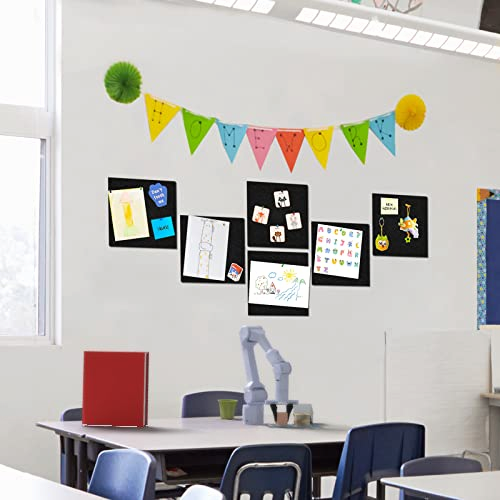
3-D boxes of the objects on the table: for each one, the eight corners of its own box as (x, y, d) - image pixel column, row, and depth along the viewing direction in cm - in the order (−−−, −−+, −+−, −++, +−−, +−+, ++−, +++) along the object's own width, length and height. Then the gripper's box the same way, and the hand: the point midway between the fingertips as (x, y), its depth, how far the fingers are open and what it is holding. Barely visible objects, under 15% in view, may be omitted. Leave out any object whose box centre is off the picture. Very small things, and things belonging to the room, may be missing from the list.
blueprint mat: (270, 429, 432) (270, 427, 432) (263, 425, 448) (263, 423, 448) (324, 428, 436) (324, 427, 436) (316, 425, 452) (316, 423, 452)
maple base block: (296, 426, 441) (296, 414, 441) (293, 424, 447) (293, 413, 447) (309, 426, 442) (309, 414, 442) (307, 424, 447) (307, 413, 448)
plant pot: (240, 418, 478) (241, 400, 478) (231, 420, 469) (232, 401, 470) (223, 417, 482) (223, 399, 482) (214, 419, 473) (214, 400, 474)
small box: (313, 412, 459) (311, 403, 450) (312, 424, 456) (310, 415, 448) (296, 411, 461) (293, 402, 452) (295, 423, 458) (292, 414, 449)
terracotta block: (277, 424, 435) (277, 413, 436) (275, 423, 440) (275, 412, 440) (287, 424, 436) (287, 413, 436) (285, 423, 440) (285, 412, 441)
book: (147, 426, 437) (149, 351, 440) (143, 427, 429) (144, 352, 432) (86, 424, 441) (88, 350, 443) (80, 426, 433) (82, 351, 435)
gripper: (267, 390, 434) (266, 422, 433) (300, 390, 436) (299, 422, 435) (264, 389, 441) (263, 420, 440) (296, 389, 443) (296, 420, 442)
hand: (281, 421), depth 438 cm, fingers closed on terracotta block, 4 cm apart
